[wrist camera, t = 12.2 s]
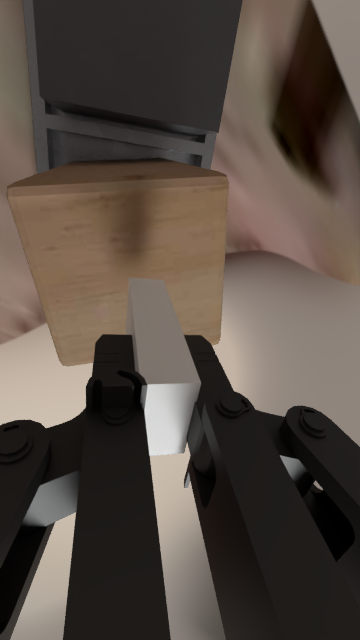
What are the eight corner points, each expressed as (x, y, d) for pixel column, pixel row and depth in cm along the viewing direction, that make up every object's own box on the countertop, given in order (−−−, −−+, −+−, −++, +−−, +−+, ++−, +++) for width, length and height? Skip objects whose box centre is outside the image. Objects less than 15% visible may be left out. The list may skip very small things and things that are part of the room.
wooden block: (66, 161, 28) (-2, 184, 12) (166, 157, 30) (233, 172, 13) (86, 258, 34) (59, 371, 17) (170, 251, 35) (222, 347, 18)
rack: (52, 266, 34) (30, 311, 25) (32, -23, 23) (-24, -139, 13) (186, 276, 38) (209, 317, 29) (227, 34, 27) (288, -25, 17)
